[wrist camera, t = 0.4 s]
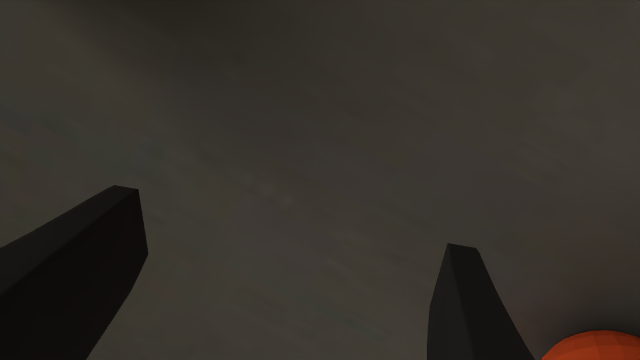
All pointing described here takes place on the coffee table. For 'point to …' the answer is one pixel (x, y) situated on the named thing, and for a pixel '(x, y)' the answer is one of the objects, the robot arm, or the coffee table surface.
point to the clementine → (596, 347)
